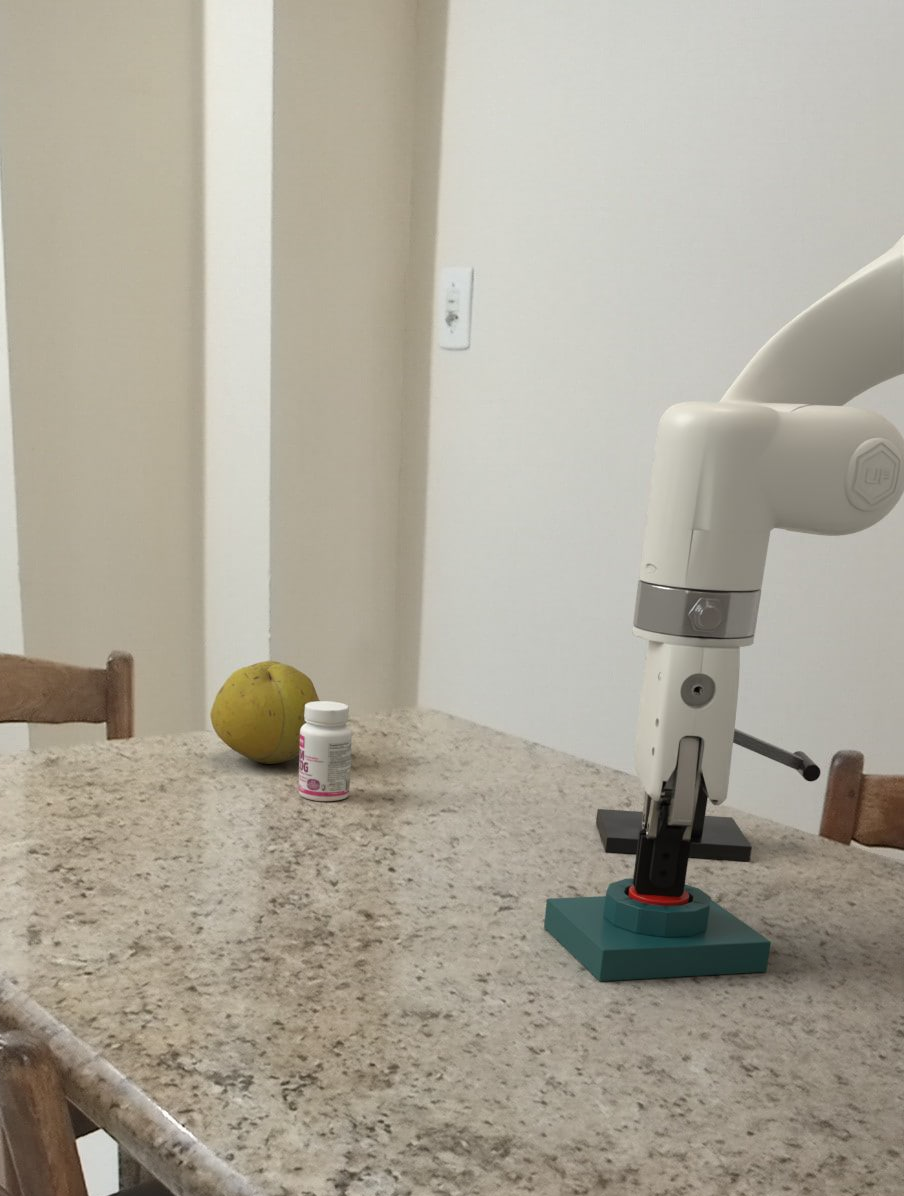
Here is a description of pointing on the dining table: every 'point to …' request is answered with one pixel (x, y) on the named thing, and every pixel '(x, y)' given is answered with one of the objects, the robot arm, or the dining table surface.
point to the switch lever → (779, 755)
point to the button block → (654, 936)
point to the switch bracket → (707, 838)
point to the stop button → (659, 898)
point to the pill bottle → (325, 752)
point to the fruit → (263, 711)
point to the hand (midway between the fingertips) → (657, 891)
